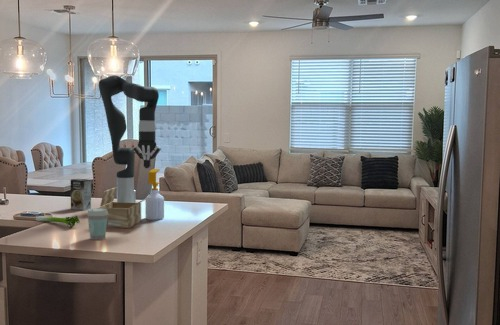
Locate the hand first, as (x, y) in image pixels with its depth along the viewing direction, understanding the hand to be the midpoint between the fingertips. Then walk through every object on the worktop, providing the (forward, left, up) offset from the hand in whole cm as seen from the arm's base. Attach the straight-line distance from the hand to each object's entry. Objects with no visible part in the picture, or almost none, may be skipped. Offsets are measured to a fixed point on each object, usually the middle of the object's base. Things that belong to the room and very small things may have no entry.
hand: (147, 168), depth 233 cm
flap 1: (+11, -16, -17) cm, 26 cm away
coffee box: (-1, -58, -27) cm, 64 cm away
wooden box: (+7, -10, -27) cm, 30 cm away
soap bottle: (-13, -10, -27) cm, 32 cm away
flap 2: (+3, -5, -17) cm, 18 cm away
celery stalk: (+28, -31, -27) cm, 50 cm away
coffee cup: (+30, +7, -27) cm, 41 cm away
